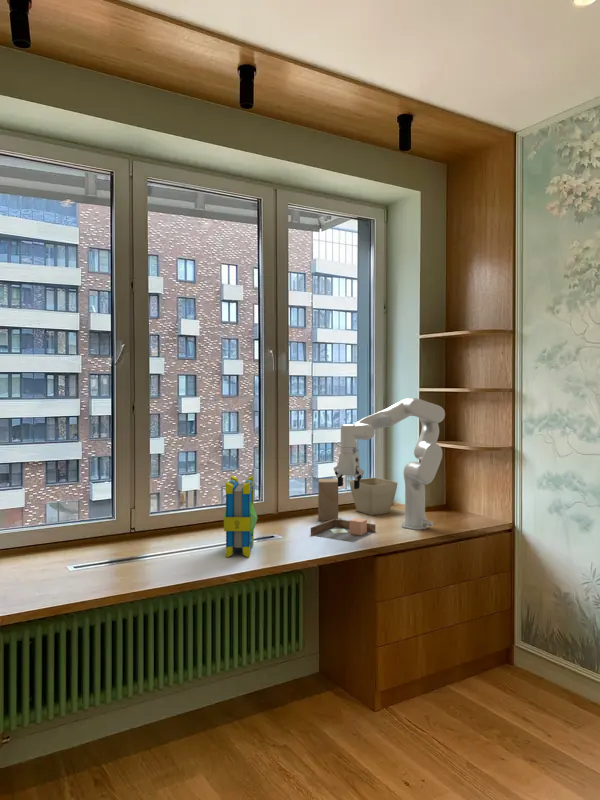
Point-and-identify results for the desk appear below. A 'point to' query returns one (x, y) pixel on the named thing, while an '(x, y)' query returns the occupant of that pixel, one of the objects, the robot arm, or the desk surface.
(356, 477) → the robot arm
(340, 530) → the tray
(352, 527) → the cube
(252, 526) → the decorative book
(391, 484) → the flower pot
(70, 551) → the desk surface
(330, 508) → the wooden block
